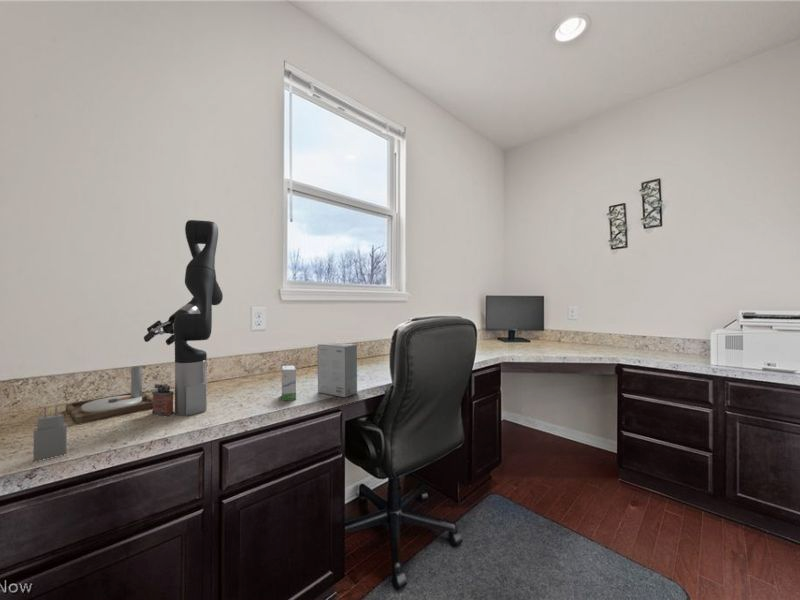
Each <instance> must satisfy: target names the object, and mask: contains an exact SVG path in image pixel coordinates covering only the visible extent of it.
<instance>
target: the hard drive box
mask: <svg viewBox="0 0 800 600" xmlns="http://www.w3.org/2000/svg"><path fill="white" fill-rule="evenodd" d="M357 346H358V345H357V344H354V343H352V344H351V343H337V342H336V343H335V342H328V343H319V344H317V392H318V393H322V394H325V395H331V396H336V397H341V398H347V397H350V396H353V395H356V394H358V347H357Z"/></svg>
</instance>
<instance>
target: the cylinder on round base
mask: <svg viewBox="0 0 800 600" xmlns="http://www.w3.org/2000/svg"><path fill="white" fill-rule="evenodd" d="M142 392H143V365H135V366H131V367H130V393H131V395H125V396H116V395H114V396H115V397H110V396H107V397H108V398H104V397H102V398H103V399H99V398H97V399H98V400H94V401H91V402H88V403H85V404H83V405H82V406H81V412H83V413H88V414H92V413H97V412H102V411H107V410H112V409H117V408H122V407H127V406H132V405H137V404H140V403H142V397H141V396H142Z"/></svg>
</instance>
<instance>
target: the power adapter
mask: <svg viewBox="0 0 800 600" xmlns="http://www.w3.org/2000/svg"><path fill="white" fill-rule="evenodd" d="M43 411H44V413H43V416H42V417H40V418H37V420H36V422H37V427H36V428H34V429H33V458H32V459H33V462H34V461H38V462H40V461H39V460H42V461H44V460H43V459H46V460H48V459H47V458H51V457H55V456H60V455H63V456H65V455H64V454H66V455H67V447H68V446H67V438H68V437H67V435H68V433H67V431H68V430H67V428H68V425H67V422H64V414H58V406H57V405H56V406H55V412H54V414H53V415H48V416H47V407H44V410H43ZM60 457H61V456H60ZM55 458H56V457H55ZM51 459H52V458H51Z"/></svg>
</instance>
